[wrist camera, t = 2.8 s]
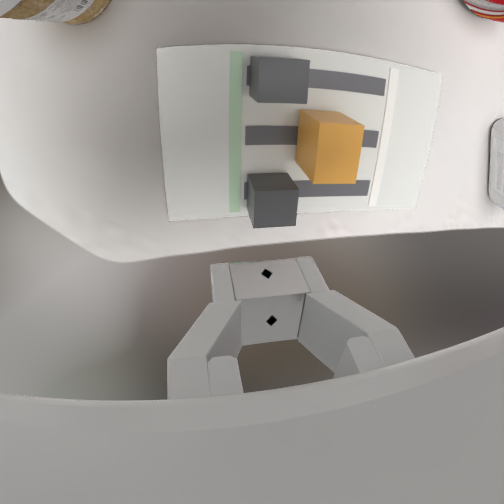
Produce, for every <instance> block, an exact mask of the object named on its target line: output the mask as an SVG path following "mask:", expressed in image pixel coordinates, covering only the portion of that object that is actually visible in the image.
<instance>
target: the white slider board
mask: <svg viewBox="0 0 504 504" xmlns="http://www.w3.org/2000/svg"><path fill="white" fill-rule="evenodd" d="M442 78H443V75H441V74H438V73H435V72H431V71H428V70H424V69H420V68H416V67H413V66H409V65H405V64H400V63H396V62H392V61H387V60H382V59H377V58H372V57H367V56H362V55H356V54H350V53H343V52H337V51H329V50H321V49H313V48H303V47H291V46H277V45H254V44H211V45H188V46H174V47H163V48H157V80H158V102H159V120H160V134H161V147H162V159H163V171H164V181H165V191H166V200H167V209H168V218H169V222H172V221H185V220H198V219H212V218H227V217H242V216H250V219H251V222H252V226H253V228H266V227H282V226H295V225H296V216H297V213H317V212H342V211H372V210H414V209H415V208H416V204H417V200H418V197H419V193H420V189H421V185H422V182H423V178H424V173H425V169H426V165H427V161H428V156H429V152H430V147H431V143H432V138H433V133H434V128H435V122H436V117H437V111H438V105H439V99H440V93H441V86H442ZM300 109H305V110H323V111H337V112H341V113H342V114H344V115H346V116H348V117H350V118H352V119H353V120H355V121H357V122H359V123H361V124H362V125H364V126H365V127H364V134H363V141H362V148H361V154H360V160H359V166H358V172H357V178H356V184H313V183H312V182H311V181H310V179H309V178H308V177H307V176H306V174H305V173H304V172H303V171H302V169H301V168H300V167H299V166H298V164H297V163H296V162H295V160H296V148H297V136H298V123H299V110H300Z"/></svg>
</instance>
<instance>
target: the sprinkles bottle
mask: <svg viewBox="0 0 504 504" xmlns="http://www.w3.org/2000/svg"><path fill="white" fill-rule="evenodd" d="M109 2H110V0H0V18H12V19H19V20H39V21H52V22H65V23H68V24H75V25H77V24H82V23H86V22H88V21H91V20H93V19H94V18H96V17H97V16H98V15H100V14H101V13H102V12H103V11H104V9H105V8H106V7H107V5H108V4H109Z"/></svg>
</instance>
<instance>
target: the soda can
mask: <svg viewBox="0 0 504 504" xmlns="http://www.w3.org/2000/svg"><path fill="white" fill-rule="evenodd" d="M463 1H464V3H465V4H466V5H467V6H468V8H469V9H470V10H471V11H472V12H474V13H475V14H476V15H478V16H480V17H482V18H486V19H490V20H494V21H499V22H504V0H463Z"/></svg>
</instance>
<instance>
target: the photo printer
mask: <svg viewBox="0 0 504 504" xmlns="http://www.w3.org/2000/svg"><path fill="white" fill-rule="evenodd" d="M489 197H490V199H491V200H492V201H493V202H495V203H496V204H497V205H498V206H500V207H501V208H502V209H503V210H504V119H499V120H498V121H496V122H495V123H494V125H493V127H492V131H491V149H490V173H489Z"/></svg>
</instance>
